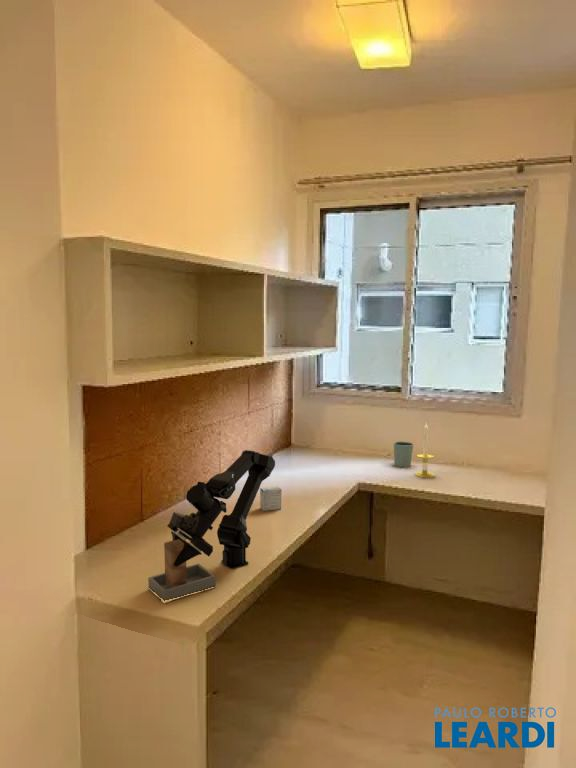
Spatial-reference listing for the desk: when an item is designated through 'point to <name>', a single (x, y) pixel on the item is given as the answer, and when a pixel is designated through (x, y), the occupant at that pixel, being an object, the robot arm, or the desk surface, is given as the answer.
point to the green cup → (403, 454)
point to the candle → (425, 456)
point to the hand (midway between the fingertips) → (170, 562)
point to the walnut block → (172, 573)
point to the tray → (195, 582)
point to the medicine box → (270, 498)
